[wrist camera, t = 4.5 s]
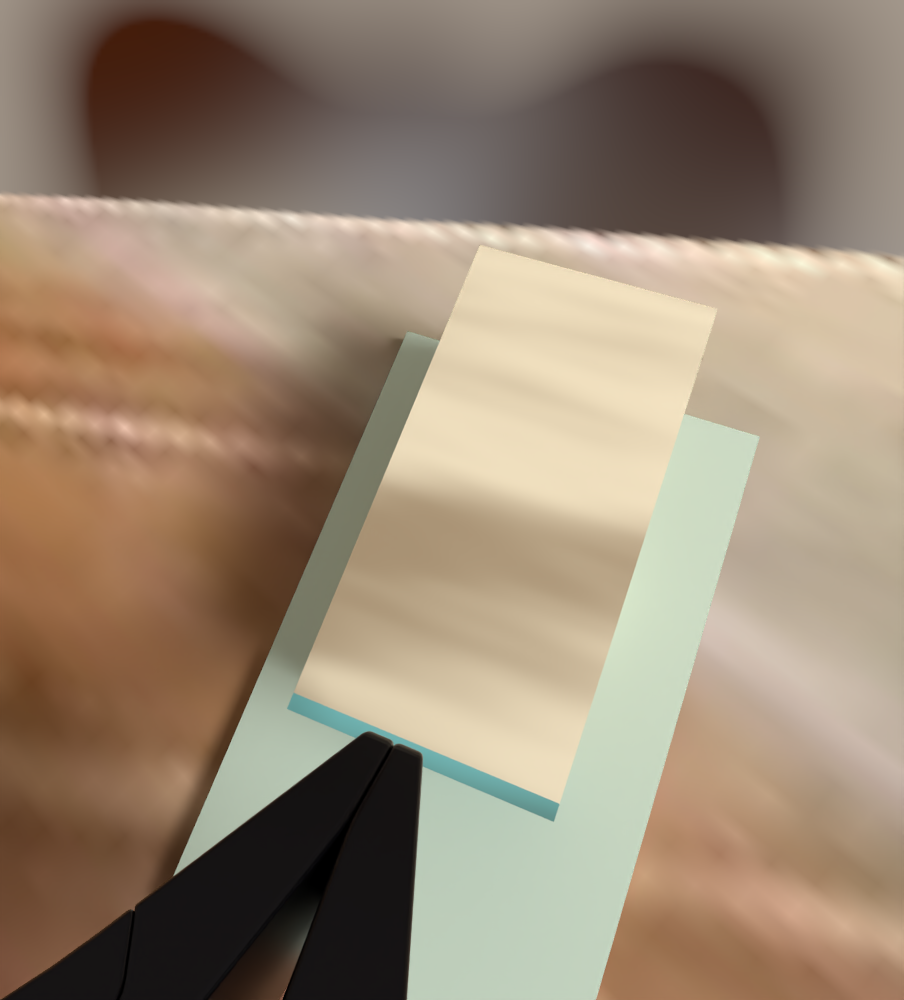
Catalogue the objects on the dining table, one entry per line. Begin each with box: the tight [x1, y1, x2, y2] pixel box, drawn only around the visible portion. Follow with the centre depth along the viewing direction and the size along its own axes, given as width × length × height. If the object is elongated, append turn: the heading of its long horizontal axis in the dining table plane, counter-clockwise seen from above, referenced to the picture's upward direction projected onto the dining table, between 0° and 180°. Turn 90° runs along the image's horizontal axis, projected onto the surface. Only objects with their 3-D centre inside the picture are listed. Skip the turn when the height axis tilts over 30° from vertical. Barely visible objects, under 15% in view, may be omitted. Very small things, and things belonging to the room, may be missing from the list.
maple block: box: [287, 245, 718, 822], centre depth 15 cm, size 5×5×10 cm
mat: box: [174, 331, 759, 1000], centre depth 17 cm, size 16×10×1 cm, turn 159°
